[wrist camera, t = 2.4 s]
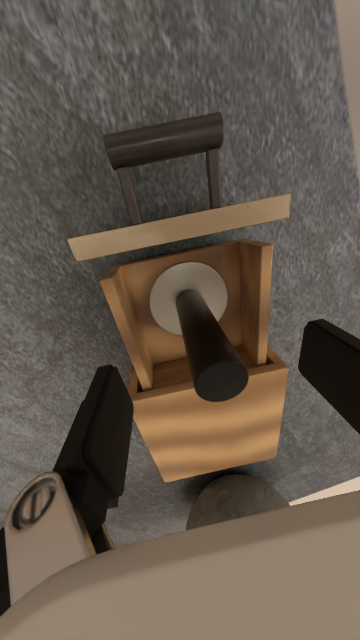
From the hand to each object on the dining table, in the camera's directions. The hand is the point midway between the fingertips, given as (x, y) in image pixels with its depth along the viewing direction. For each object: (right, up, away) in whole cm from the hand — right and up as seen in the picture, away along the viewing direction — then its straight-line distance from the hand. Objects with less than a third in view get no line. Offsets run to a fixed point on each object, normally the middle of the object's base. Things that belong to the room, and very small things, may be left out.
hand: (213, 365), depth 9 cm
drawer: (-1, +6, +7) cm, 10 cm away
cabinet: (+1, -6, +15) cm, 16 cm away
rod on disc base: (-1, +4, +7) cm, 8 cm away
